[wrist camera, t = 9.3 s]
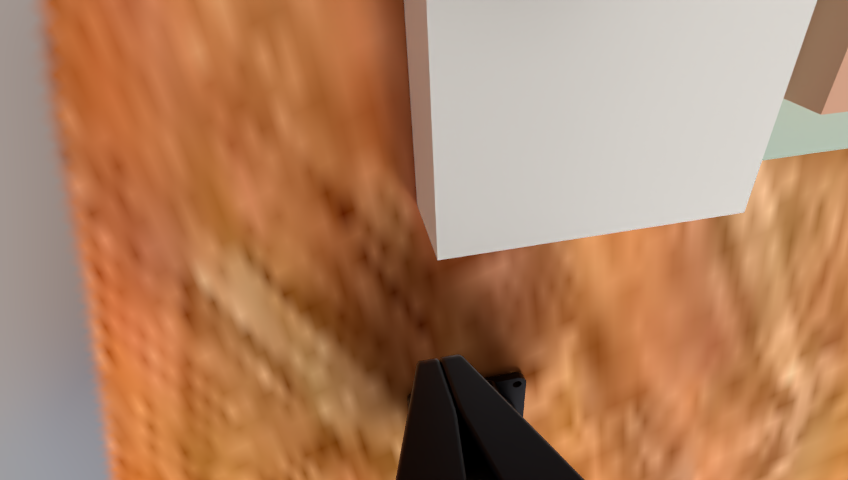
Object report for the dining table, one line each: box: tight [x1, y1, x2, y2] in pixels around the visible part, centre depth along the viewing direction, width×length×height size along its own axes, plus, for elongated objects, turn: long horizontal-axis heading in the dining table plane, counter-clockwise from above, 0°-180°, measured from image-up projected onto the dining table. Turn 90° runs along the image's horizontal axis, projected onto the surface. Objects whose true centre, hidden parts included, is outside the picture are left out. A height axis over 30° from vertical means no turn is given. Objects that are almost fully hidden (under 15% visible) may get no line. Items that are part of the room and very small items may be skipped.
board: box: [404, 0, 817, 260], centre depth 17 cm, size 15×12×4 cm
